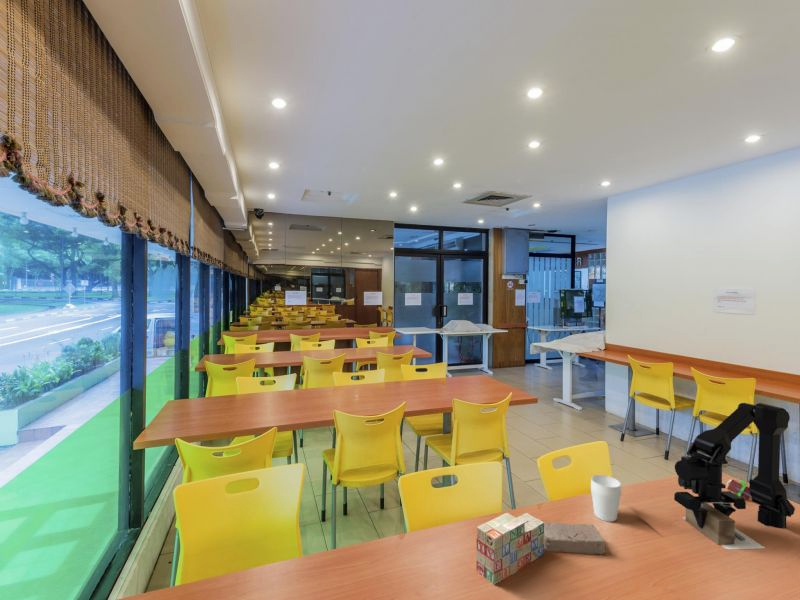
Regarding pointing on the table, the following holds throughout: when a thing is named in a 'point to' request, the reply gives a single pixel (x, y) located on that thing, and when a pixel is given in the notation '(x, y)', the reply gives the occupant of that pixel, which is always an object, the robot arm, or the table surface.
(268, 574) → the table surface
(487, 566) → the stack of blocks
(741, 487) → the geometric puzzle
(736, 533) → the long grey stick
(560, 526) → the brick
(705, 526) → the block
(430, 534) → the table surface
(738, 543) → the board
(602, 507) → the cup
